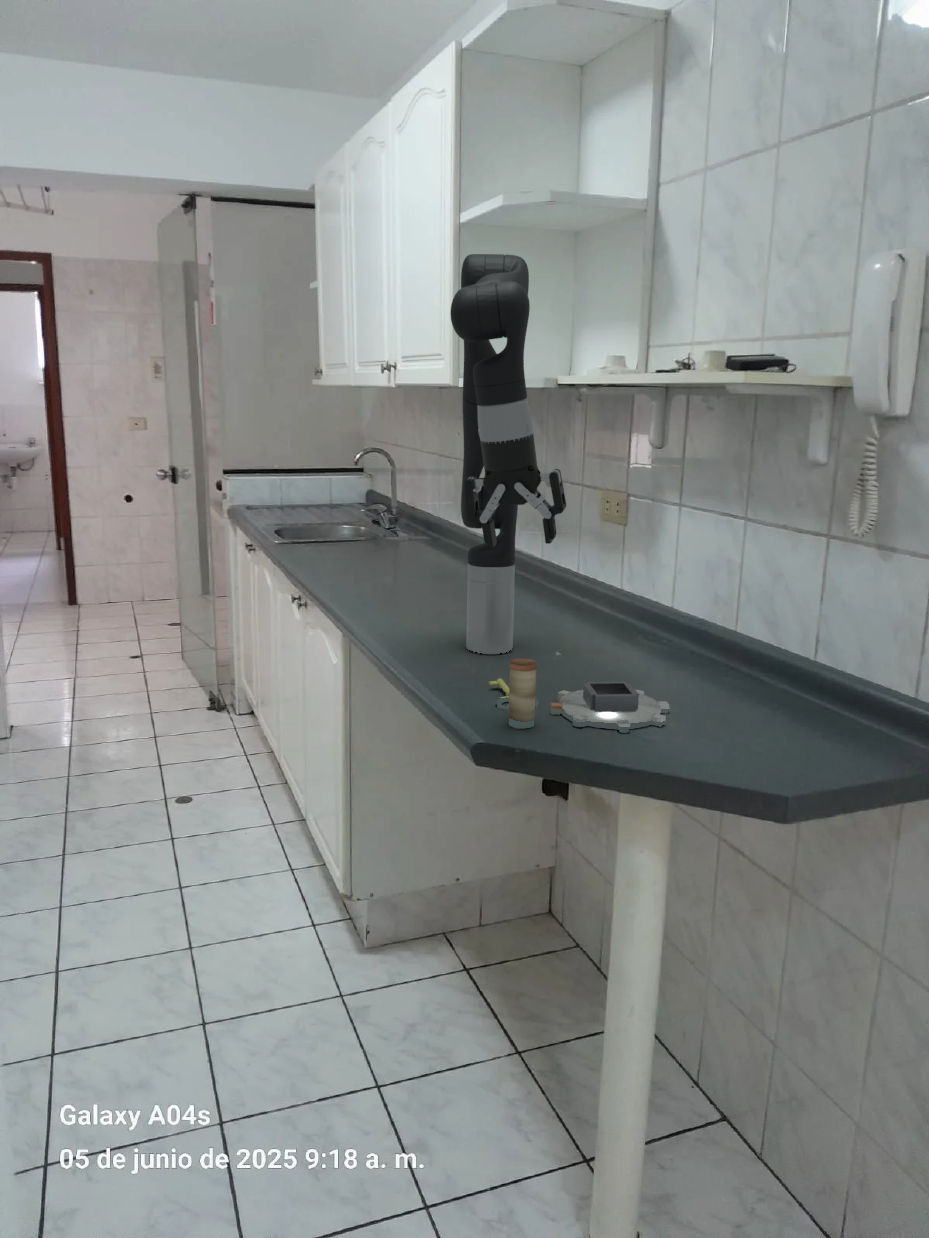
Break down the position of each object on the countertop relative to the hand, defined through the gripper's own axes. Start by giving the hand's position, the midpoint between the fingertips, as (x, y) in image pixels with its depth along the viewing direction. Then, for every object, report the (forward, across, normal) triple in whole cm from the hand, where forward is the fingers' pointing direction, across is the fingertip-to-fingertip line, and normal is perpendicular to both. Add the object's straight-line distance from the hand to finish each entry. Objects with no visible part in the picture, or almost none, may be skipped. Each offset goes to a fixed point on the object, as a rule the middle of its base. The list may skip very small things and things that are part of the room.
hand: (520, 544), depth 139 cm
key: (+30, +7, -8) cm, 32 cm away
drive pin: (+28, +3, +4) cm, 28 cm away
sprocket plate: (+31, -9, -6) cm, 33 cm away
